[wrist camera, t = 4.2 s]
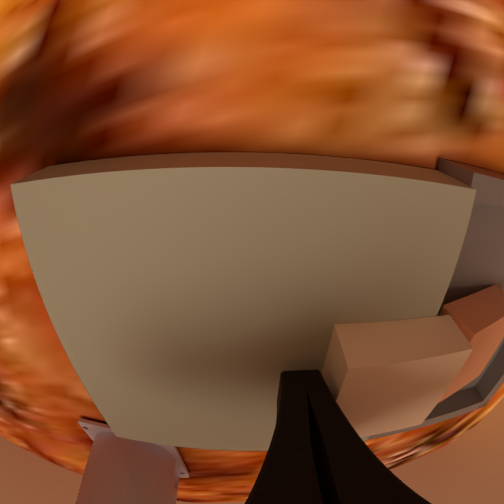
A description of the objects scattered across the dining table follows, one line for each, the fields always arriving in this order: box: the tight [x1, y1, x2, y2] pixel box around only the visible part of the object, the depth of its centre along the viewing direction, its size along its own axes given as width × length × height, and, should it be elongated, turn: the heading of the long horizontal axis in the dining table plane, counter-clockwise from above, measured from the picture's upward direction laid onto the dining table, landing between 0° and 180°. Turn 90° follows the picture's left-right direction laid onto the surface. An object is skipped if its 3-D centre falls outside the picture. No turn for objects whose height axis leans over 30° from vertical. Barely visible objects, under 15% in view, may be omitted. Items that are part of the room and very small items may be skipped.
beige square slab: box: [11, 152, 476, 451], centre depth 12 cm, size 15×15×2 cm
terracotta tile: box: [437, 284, 504, 404], centre depth 11 cm, size 5×5×2 cm
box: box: [367, 158, 504, 440], centre depth 12 cm, size 16×11×2 cm
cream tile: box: [321, 315, 473, 437], centre depth 10 cm, size 5×5×2 cm
